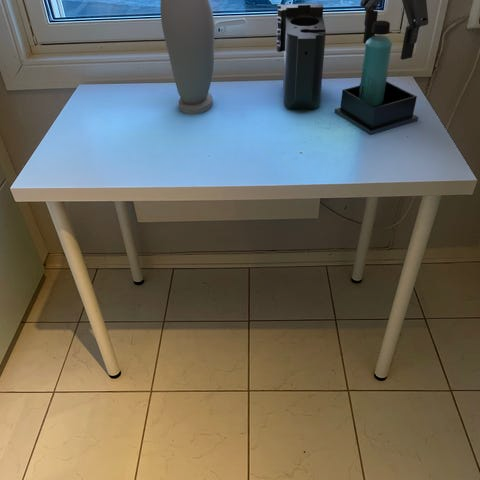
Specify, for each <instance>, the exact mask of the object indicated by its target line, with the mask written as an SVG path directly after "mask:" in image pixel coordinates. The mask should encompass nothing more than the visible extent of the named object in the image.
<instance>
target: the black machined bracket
mask: <svg viewBox="0 0 480 480" xmlns="http://www.w3.org/2000/svg"><path fill="white" fill-rule="evenodd" d="M276 26H277V28H276V52H277V53H282V52H283V79H282V80H283V81H282V82H283V83H282V85H283V86H282V94H283V105H284V107H285V108H286V109H288V110H315V109H317V108H319V106H321V98H322V97H321V95H322V88H323V87H322V83H323V74H324V73H323V71H324V59H325V47H326V37H327V36H326V35H327V32H326V29H327V28H326V24H325V20H324V4H322V3H293V4H291V3H290V4H281V3H280V4H277V19H276Z"/></svg>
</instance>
